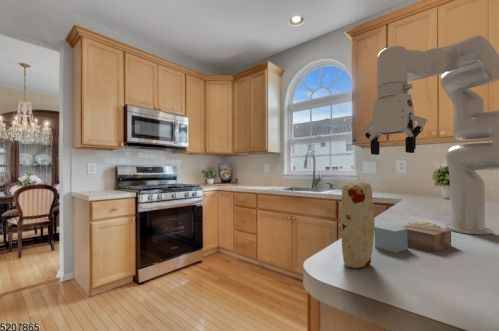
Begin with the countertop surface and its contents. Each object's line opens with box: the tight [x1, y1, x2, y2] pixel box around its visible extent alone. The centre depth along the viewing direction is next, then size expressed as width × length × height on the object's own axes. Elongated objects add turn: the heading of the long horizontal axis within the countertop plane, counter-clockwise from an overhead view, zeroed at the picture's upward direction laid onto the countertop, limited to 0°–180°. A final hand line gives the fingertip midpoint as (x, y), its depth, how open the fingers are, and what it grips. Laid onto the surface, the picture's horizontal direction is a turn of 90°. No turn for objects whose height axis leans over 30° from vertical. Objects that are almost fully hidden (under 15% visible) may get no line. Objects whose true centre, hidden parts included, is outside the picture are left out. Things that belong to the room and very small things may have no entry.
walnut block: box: [401, 224, 452, 253], centre depth 75 cm, size 10×10×5 cm
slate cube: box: [374, 224, 409, 254], centre depth 71 cm, size 6×6×6 cm
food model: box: [340, 181, 376, 269], centre depth 59 cm, size 10×7×20 cm
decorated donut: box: [405, 221, 442, 228], centre depth 86 cm, size 10×11×4 cm
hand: (391, 153), depth 69 cm, fingers open, 9 cm apart
